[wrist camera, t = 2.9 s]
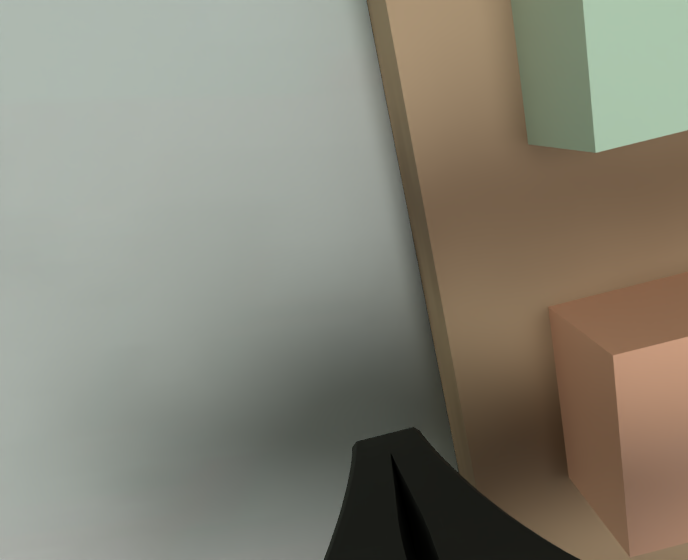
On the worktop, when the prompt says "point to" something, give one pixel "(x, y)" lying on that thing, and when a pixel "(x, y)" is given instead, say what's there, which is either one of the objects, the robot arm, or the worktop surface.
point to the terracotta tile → (628, 408)
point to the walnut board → (515, 248)
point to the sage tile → (602, 71)
